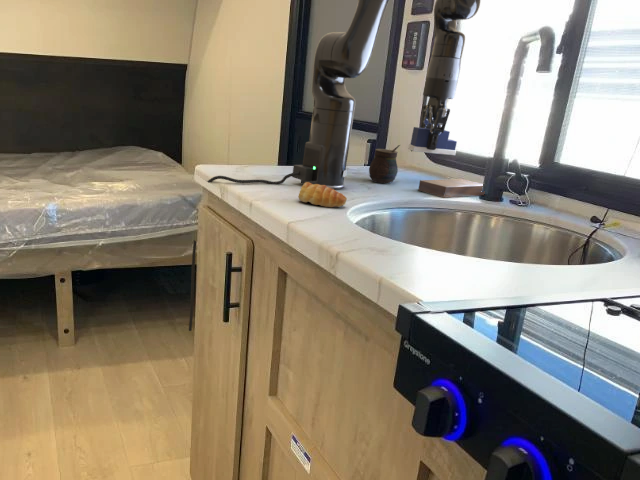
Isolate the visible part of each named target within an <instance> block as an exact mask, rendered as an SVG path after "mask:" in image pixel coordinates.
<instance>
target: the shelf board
mask: <svg viewBox="0 0 640 480" xmlns="http://www.w3.org/2000/svg"><path fill="white" fill-rule="evenodd" d="M483 184H484V183H481V182H477V181H474V180H468V179H464V178H452V179H451V178H450V179H449V178H448V179H420V180H419V184H418V189H417V190H418V191H420V192H423V193H426V194H430V195H433V196H437V197H441V198H460V197H462V198H463V197H478V196H479V197H480V196H481V197H482V196H485V195H484V194H485V191H484V192H481V191H482V187H483Z"/></svg>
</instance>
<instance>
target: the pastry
mask: <svg viewBox="0 0 640 480" xmlns="http://www.w3.org/2000/svg"><path fill="white" fill-rule="evenodd" d="M297 197H298V200H299V201H300V202H302V203H308V202H309V203H310V204H312V205H315V206H318V205H319V206H321V207H325V208H327V207H328V208H334V207H338V208H340V207H343V206H345V205H346V202H347V200H348V199H347V198H348V197H346V196H345V195H344V193H342V192H339V191H337V189H332V188H329V187H327V186H326V185H319V184H314V185H313V184H311V183H310V182H305V183H304V184H303V185H301V187H300V190H299V193H298V195H297Z"/></svg>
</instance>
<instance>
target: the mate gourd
mask: <svg viewBox="0 0 640 480" xmlns="http://www.w3.org/2000/svg"><path fill="white" fill-rule="evenodd" d="M400 146H401V144H398V145H397V146H396V147H395V148H394V149H386V148H376V149H375V150H374V157H373V159H372V160H371V162H370V164H369V168H368V173H369V178H370V180H371V181H372V182H374V183H377V184H391V183H392V182H393V181H394V180H396V177H397V175H398V171H399V169H398V167H399V166H398V163H397V157H398V151H397V149H399V148H400Z"/></svg>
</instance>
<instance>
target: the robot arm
mask: <svg viewBox="0 0 640 480" xmlns="http://www.w3.org/2000/svg"><path fill="white" fill-rule="evenodd" d="M389 3H390V0H357V5H356V9H355V11H354V15H353V17H352V19H351V22H350V25H349V27H348V28H347V30H346V31H333V32H331V31H330V32H328V33H326V34H324V35H323V36H322V37H321V38H320V39H319V41H318V43H317V46H316V47H315V52H314V58H313V59H314V60H313V72H312V83H311V93H312V98H313V107H312V115H311V123H310V124H311V125H310V132H309V140H308V141H306V142H305V144H304V150H303V151H304V152H303V158H302V159H303V160H302V164H293V167H292V172H290V173H287V174H286V175H284V176H283V178H282V179H281V180H278V181H271V180H266V179H237V178H232V177H229V176H225V175H216V176H212V177H211V178H210V179H208V180H207V183H212V182H214V181H216V180H225V181H227V182H228V181H229V182H232V183H235V184H266V185H267V184H268V185H282V184H283V183H285V181H286V180H287V179H288V178H292V179H297V180H300V184H303V185H304V183H305V182H310V183H311V184H313V185H314V184H319V185H326V186H327V187H329V188H332V189H334V190H340V189H343V188H344V186H345V184H344V183H345V178H346V177H347V173H348V172H347V162H348V157H349V149H350V144H351V143H350V142H351V136H352V130H353V122H354V116H355V110H356V109H355V108H356V99H355V97H354V96H353V95H351V93H350V92H349V91H348V90H347V87H346V79H356V78H358V77H360V76H361V75H362V74H363V73H364V72H365V70H366V69H367V68H368V65H369V63H370V61H371V58H372V55H373V53H374V49H375V45H376V43H377V39H378V35H379V32H380V29H381V25H382V22H383V19H384V16H385V14H386V11H387V7H388V5H389ZM480 7H481V0H435V3H434V7H433V22H434V23H433V25H434V27H433V29H434V42H433V47H432V51H431V57H430V59H429V60H430V61H429V63H428V67H427V73H426V76H425V83H424V87H423V92H422V95H423V96H424V97H427V98H428V101H427V104H423V105H422V107H421V108H422V110H421V117H420V118H421V119H420V127H419V128H429V129H430V134H429V138H428V143H427V149H429V150H435V149H436V146H437V141H438V136H439V135H440V133H443V132H444V130H445V128H446V125H447V123H448V120H449V116H450V113H451V109H450V108H447V100H453V99H454V98H455V96H456V91H457V86H458V81H459V78H460V77H459V76H460V72H461V63H462V58H463V52H464V47H465V44H466V34H464V33H463V32H462V31H459V30H457V21H465V20H469V19H472V18H473V17H474V16H476V14H477V13H478V12H479V9H480ZM192 243H193V244H192V258H191V279H190V305H189V306H190V307H189V321H188V322H189V323H188V332H192V331H193V329H192V328H193V315H194V296H195V272H196V271H195V270H196V269H195V268H196V252H197V244H198V243H197V241H196V240H195V239H193V242H192Z"/></svg>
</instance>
